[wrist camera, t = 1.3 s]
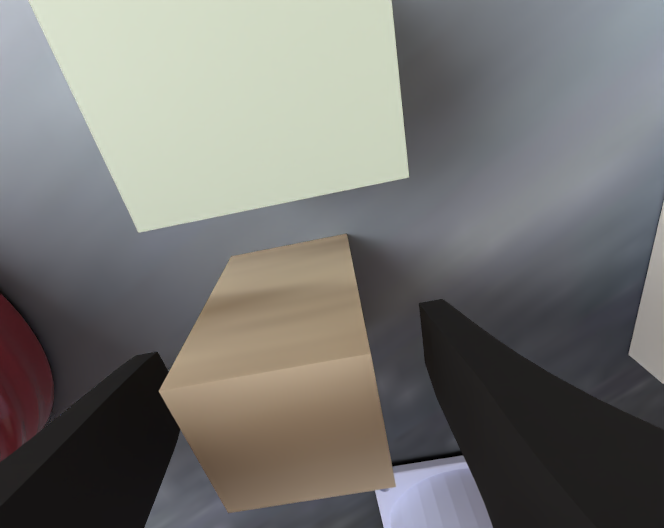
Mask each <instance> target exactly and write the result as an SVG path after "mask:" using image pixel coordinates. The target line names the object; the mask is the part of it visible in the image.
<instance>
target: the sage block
mask: <svg viewBox="0 0 664 528" xmlns="http://www.w3.org/2000/svg"><path fill="white" fill-rule="evenodd" d="M28 1H29V3H30V5H31V7H32V9H33V12H34V14H35V16H36V18H37V20H38V22H39V24H40V26H41V28H42V31H43V33H44V35H45V37H46V39H47V41H48V43H49V45H50V47H51V49H52V52H53V54H54V56H55V58H56V60H57V62H58V64H59V66H60V68H61V70H62V73H63V75H64V77H65V79H66V81H67V83H68V85H69V87H70V89H71V92H72V94H73V96H74V98H75V100H76V102H77V104H78V106H79V108H80V110H81V113H82V115H83V117H84V119H85V121H86V123H87V125H88V127H89V129H90V132H91V134H92V136H93V138H94V140H95V142H96V144H97V146H98V148H99V150H100V153H101V155H102V157H103V159H104V161H105V163H106V165H107V167H108V169H109V172H110V174H111V176H112V178H113V180H114V182H115V184H116V186H117V188H118V190H119V193H120V195H121V197H122V199H123V201H124V203H125V205H126V207H127V209H128V211H129V214H130V216H131V218H132V220H133V222H134V224H135V226H136V228H137V230H138V233H140V232H145V231H150V230H155V229H159V228H164V227H169V226H174V225H179V224H184V223H189V222H194V221H199V220H203V219H208V218H213V217H218V216H223V215H228V214H233V213H238V212H243V211H247V210H252V209H257V208H262V207H267V206H272V205H277V204H282V203H287V202H291V201H296V200H301V199H306V198H311V197H316V196H321V195H326V194H331V193H336V192H340V191H345V190H350V189H355V188H360V187H365V186H370V185H375V184H380V183H384V182H389V181H394V180H399V179H404V178H409V171H408V161H407V151H406V141H405V131H404V121H403V111H402V101H401V91H400V81H399V71H398V61H397V51H396V41H395V31H394V21H393V10H392V0H28Z"/></svg>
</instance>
